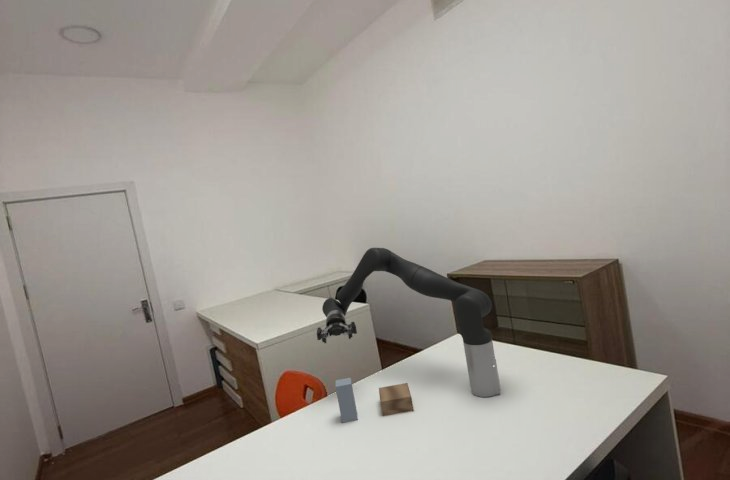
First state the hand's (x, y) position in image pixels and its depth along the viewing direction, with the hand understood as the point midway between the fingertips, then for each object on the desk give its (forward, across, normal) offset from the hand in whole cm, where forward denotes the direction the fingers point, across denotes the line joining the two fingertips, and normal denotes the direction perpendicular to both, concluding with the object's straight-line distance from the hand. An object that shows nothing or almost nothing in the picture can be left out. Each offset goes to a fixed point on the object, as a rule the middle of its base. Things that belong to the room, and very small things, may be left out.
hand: (337, 338), depth 135 cm
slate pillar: (+12, 0, +22) cm, 25 cm away
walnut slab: (+11, +16, +22) cm, 30 cm away
